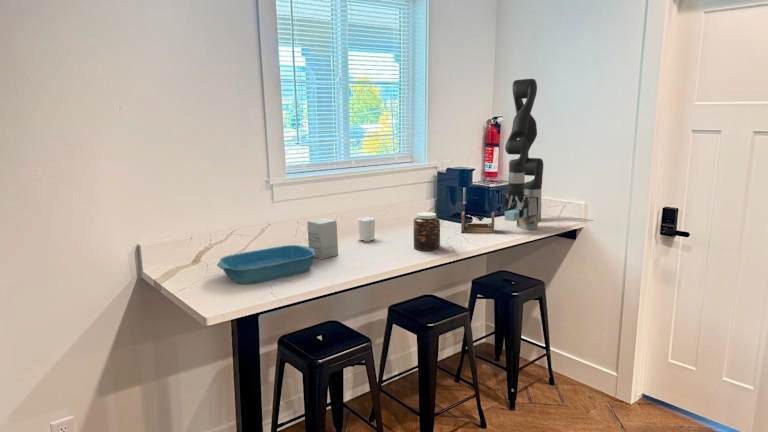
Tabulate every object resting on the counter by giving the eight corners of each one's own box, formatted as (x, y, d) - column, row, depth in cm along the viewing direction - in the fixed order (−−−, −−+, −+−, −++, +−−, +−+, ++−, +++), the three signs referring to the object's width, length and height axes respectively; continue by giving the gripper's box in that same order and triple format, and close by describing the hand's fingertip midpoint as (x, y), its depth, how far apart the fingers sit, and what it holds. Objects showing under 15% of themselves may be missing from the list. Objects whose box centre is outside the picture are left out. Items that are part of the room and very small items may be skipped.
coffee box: (538, 229, 257) (539, 197, 254) (528, 230, 255) (528, 198, 252) (525, 225, 266) (526, 194, 263) (515, 227, 263) (516, 195, 260)
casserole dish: (230, 291, 176) (228, 271, 174) (210, 276, 194) (209, 257, 192) (326, 271, 196) (325, 253, 195) (300, 259, 214) (299, 242, 213)
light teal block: (504, 220, 249) (504, 211, 249) (518, 215, 258) (518, 207, 257) (513, 221, 246) (513, 213, 245) (527, 216, 254) (527, 208, 253)
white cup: (355, 241, 242) (355, 220, 240) (362, 237, 249) (362, 216, 247) (371, 242, 239) (370, 220, 237) (378, 238, 246) (377, 217, 244)
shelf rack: (462, 229, 261) (462, 211, 260) (493, 229, 258) (494, 211, 257) (461, 233, 253) (461, 214, 251) (494, 233, 250) (494, 215, 248)
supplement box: (325, 251, 224) (323, 217, 221) (338, 255, 218) (337, 220, 215) (308, 255, 218) (306, 220, 215) (321, 259, 211) (319, 223, 209)
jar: (445, 247, 227) (445, 213, 224) (429, 252, 218) (429, 217, 216) (424, 243, 235) (424, 210, 232) (407, 248, 226) (407, 214, 223)
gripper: (534, 181, 246) (533, 217, 249) (507, 179, 256) (507, 213, 259) (525, 183, 240) (525, 219, 244) (499, 181, 251) (498, 215, 254)
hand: (515, 216), depth 252 cm, fingers closed on light teal block, 5 cm apart
